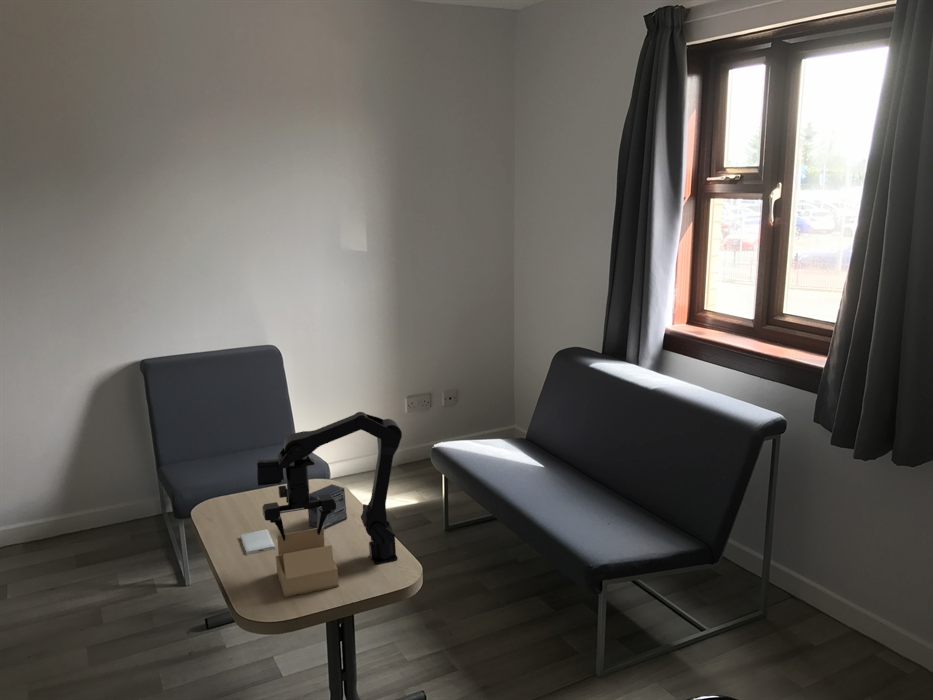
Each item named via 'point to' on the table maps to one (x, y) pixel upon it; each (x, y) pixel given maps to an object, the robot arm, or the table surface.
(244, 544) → the hard drive
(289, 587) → the carton
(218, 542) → the table surface
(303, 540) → the flap
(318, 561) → the flap
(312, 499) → the small box
